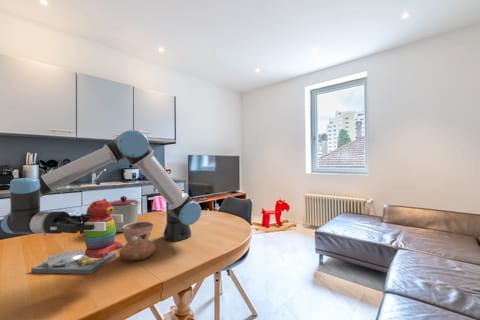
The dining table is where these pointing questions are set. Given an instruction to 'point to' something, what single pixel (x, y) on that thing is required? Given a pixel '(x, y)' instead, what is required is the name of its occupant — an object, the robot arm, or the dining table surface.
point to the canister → (125, 211)
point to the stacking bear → (101, 240)
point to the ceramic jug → (137, 241)
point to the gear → (63, 259)
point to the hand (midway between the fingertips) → (114, 222)
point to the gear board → (77, 265)
